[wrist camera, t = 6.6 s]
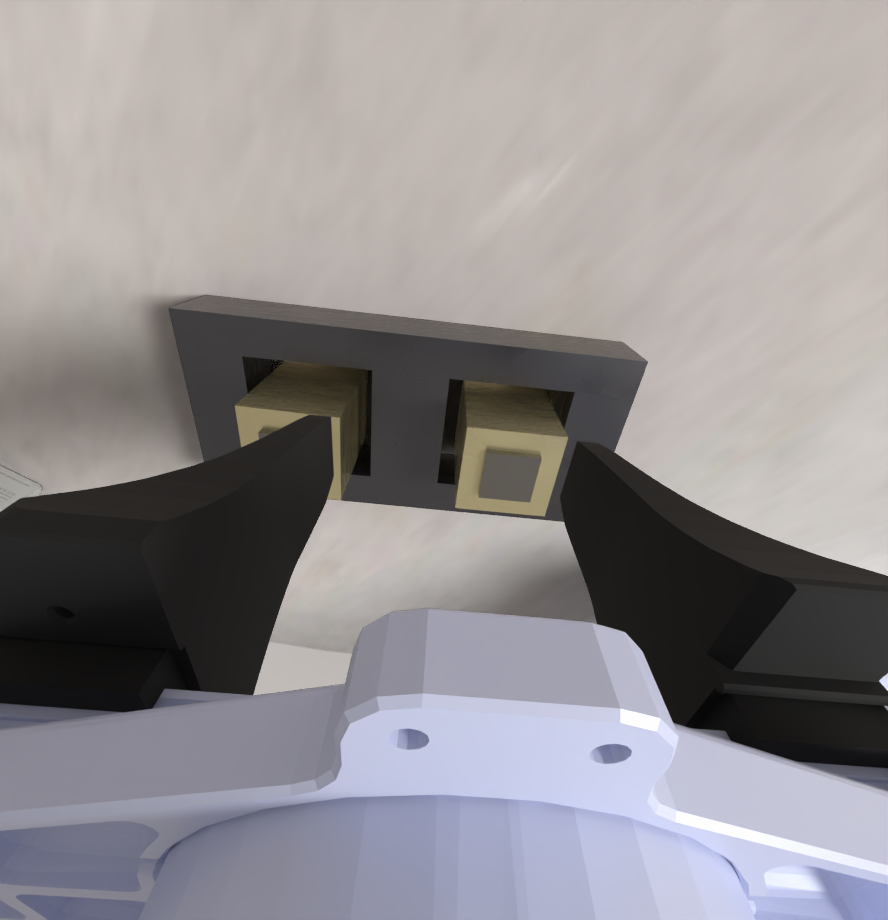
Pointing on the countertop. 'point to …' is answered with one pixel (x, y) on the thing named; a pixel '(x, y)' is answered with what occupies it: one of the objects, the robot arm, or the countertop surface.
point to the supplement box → (15, 487)
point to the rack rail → (399, 384)
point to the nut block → (310, 409)
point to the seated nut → (506, 449)
